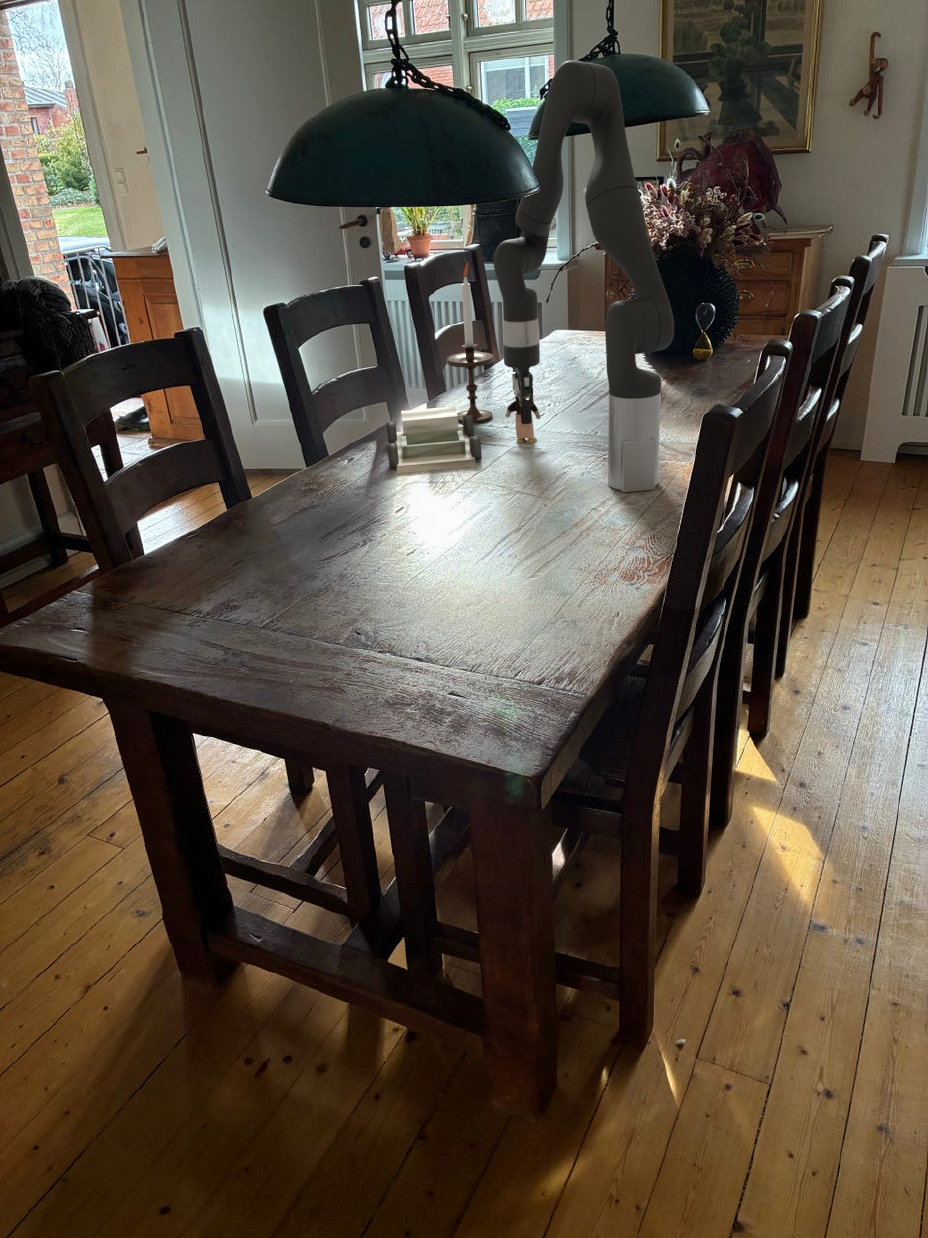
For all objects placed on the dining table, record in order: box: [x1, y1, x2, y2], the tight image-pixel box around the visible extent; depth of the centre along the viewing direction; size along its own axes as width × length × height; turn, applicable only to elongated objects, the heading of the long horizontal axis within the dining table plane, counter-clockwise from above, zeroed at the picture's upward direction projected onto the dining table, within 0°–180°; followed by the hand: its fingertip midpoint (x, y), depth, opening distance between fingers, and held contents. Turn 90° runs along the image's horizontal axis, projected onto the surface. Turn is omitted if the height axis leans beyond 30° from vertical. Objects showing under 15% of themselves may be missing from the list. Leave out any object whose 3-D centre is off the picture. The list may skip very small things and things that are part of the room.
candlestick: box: [446, 261, 495, 425], centre depth 210 cm, size 11×11×35 cm
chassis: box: [386, 406, 482, 474], centre depth 196 cm, size 24×19×6 cm
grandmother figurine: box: [504, 389, 542, 444], centre depth 197 cm, size 8×4×13 cm, turn 84°
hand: (523, 417), depth 198 cm, fingers open, 8 cm apart
